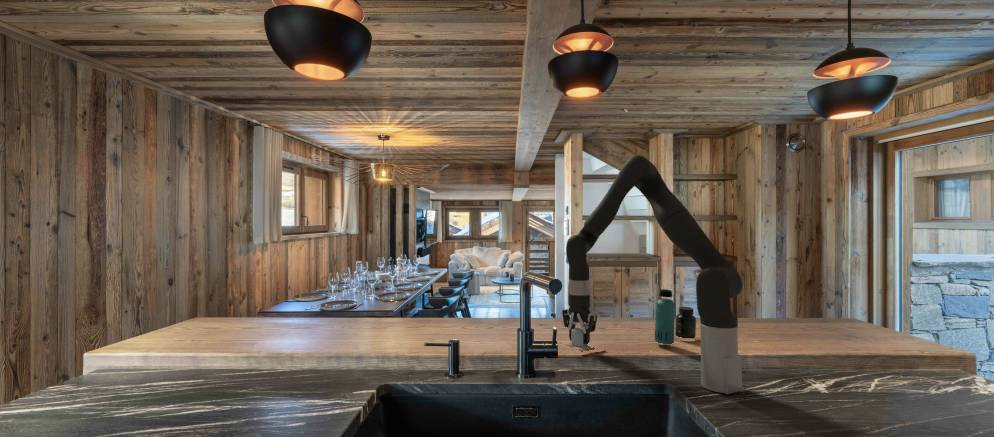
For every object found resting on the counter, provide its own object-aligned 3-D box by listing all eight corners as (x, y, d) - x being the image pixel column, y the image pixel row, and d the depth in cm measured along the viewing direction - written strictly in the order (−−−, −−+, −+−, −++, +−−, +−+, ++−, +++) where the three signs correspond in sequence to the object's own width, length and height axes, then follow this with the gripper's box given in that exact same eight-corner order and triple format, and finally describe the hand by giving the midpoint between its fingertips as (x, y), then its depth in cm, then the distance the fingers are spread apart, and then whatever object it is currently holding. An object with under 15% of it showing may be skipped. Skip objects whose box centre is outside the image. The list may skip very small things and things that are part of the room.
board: (605, 351, 149) (605, 336, 149) (581, 356, 144) (581, 340, 144) (582, 343, 159) (582, 329, 159) (560, 347, 155) (559, 332, 155)
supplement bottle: (671, 338, 164) (672, 306, 163) (686, 336, 166) (687, 305, 166) (683, 344, 158) (685, 311, 157) (699, 342, 160) (700, 309, 159)
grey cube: (590, 344, 152) (590, 329, 152) (580, 347, 148) (580, 331, 148) (578, 341, 156) (578, 326, 156) (568, 344, 152) (568, 329, 152)
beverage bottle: (671, 343, 157) (672, 288, 156) (676, 350, 151) (678, 292, 149) (652, 342, 158) (653, 287, 157) (656, 349, 151) (658, 291, 150)
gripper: (602, 294, 149) (603, 344, 149) (570, 289, 160) (570, 336, 160) (588, 296, 144) (589, 348, 144) (556, 291, 155) (556, 339, 155)
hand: (579, 341), depth 152 cm, fingers closed on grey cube, 5 cm apart
